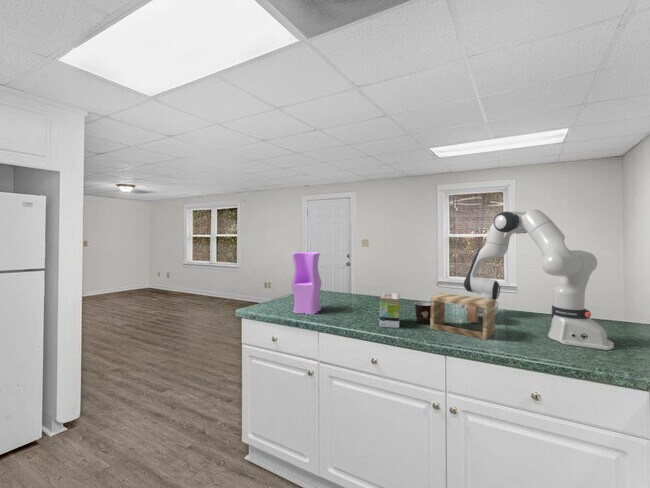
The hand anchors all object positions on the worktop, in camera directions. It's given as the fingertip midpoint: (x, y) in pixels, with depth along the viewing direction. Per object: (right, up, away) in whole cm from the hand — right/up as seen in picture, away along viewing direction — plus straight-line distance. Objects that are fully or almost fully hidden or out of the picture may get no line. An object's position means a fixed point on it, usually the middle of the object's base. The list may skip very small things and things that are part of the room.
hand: (472, 309), depth 170 cm
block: (+1, -6, +1) cm, 6 cm away
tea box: (-42, -8, +1) cm, 43 cm away
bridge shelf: (-10, -8, -11) cm, 17 cm away
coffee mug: (-23, -8, +2) cm, 24 cm away
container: (-87, -7, +28) cm, 91 cm away
